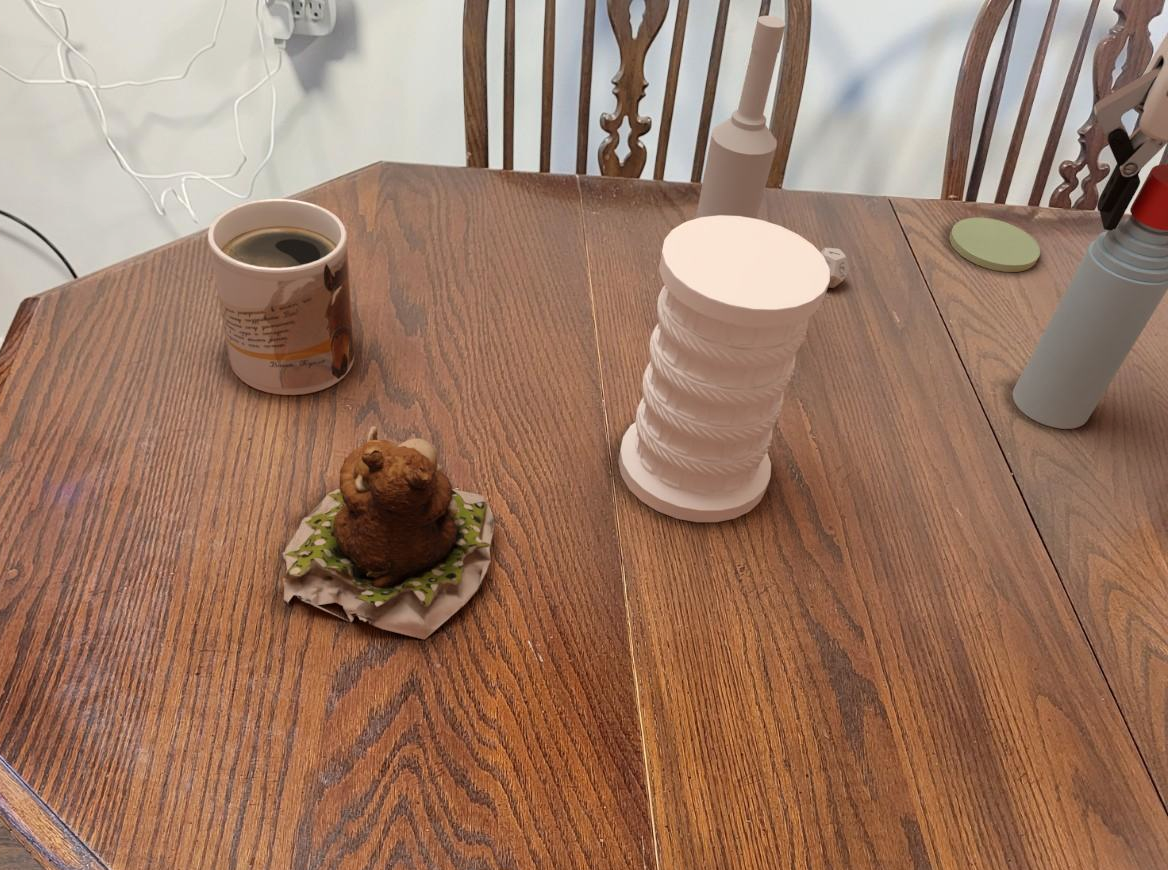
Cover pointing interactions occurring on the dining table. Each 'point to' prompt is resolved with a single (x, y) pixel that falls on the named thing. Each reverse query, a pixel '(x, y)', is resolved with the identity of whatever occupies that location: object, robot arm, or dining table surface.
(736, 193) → the bottle
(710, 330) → the decorative container
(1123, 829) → the dining table surface
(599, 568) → the dining table surface
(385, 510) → the bear figurine
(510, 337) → the dining table surface
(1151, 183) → the cap
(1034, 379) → the bottle
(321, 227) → the mug
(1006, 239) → the coaster
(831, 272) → the game die
